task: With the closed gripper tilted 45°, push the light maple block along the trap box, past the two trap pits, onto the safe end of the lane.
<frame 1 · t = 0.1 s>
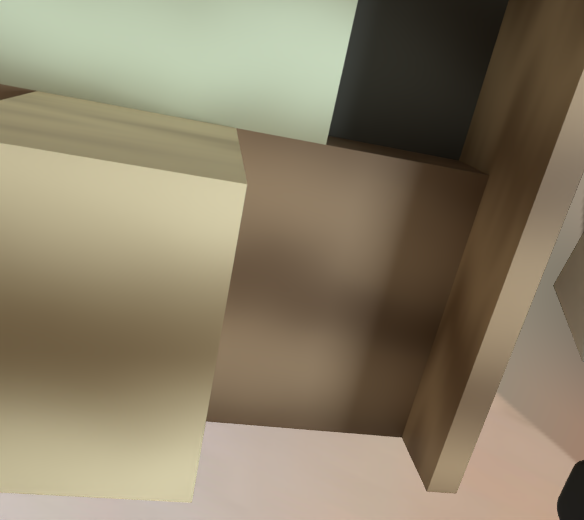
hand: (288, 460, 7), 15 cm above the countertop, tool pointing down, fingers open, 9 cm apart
trap box: (154, 72, 19), on the countertop
maple block: (128, 230, 18), point 3 cm above the countertop, touching trap box
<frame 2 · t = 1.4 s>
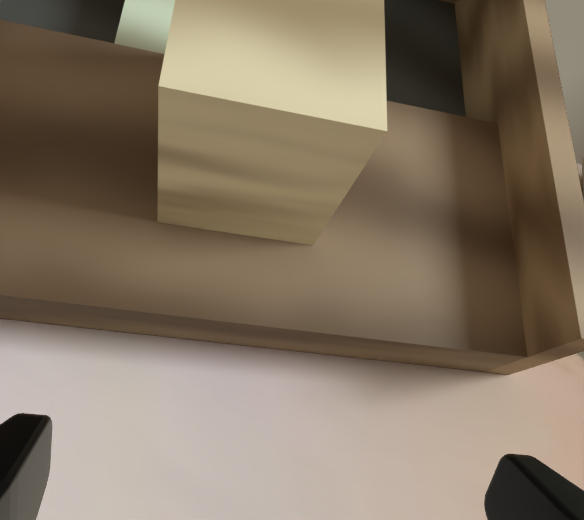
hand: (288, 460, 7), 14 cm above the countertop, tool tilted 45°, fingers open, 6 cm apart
trap box: (246, 99, 27), on the countertop
maple block: (246, 147, 22), point 3 cm above the countertop, touching trap box
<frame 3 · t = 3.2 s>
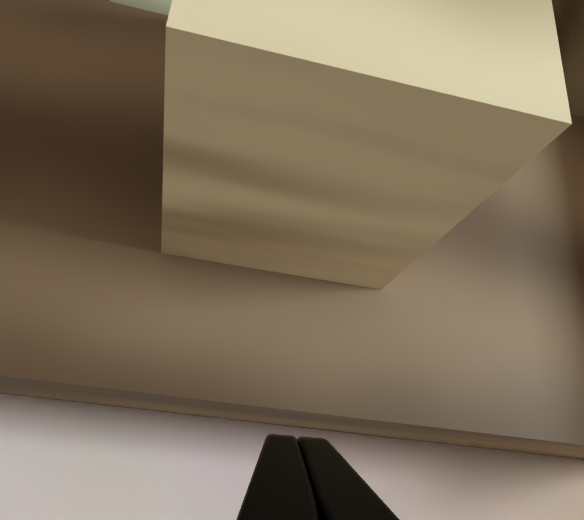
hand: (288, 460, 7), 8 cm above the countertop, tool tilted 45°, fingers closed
trap box: (281, 85, 21), on the countertop
maple block: (288, 148, 16), point 3 cm above the countertop, touching trap box
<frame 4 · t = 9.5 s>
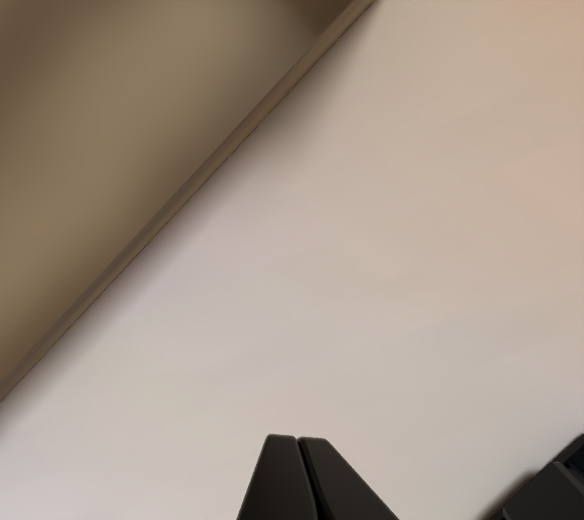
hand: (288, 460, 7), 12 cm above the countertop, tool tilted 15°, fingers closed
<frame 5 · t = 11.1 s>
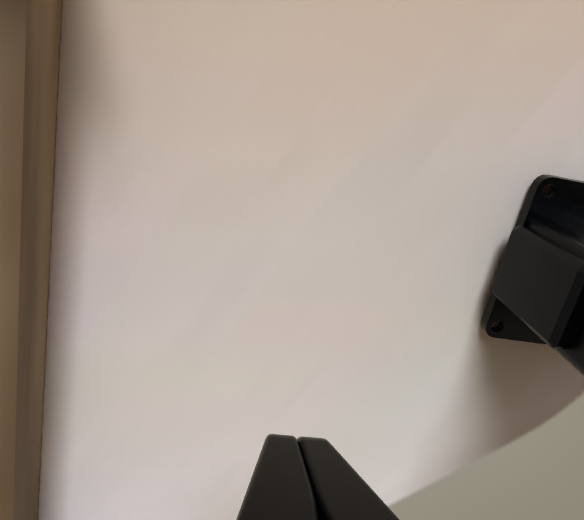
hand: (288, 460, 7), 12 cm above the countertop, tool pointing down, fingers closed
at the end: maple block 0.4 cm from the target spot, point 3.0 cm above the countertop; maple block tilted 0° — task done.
